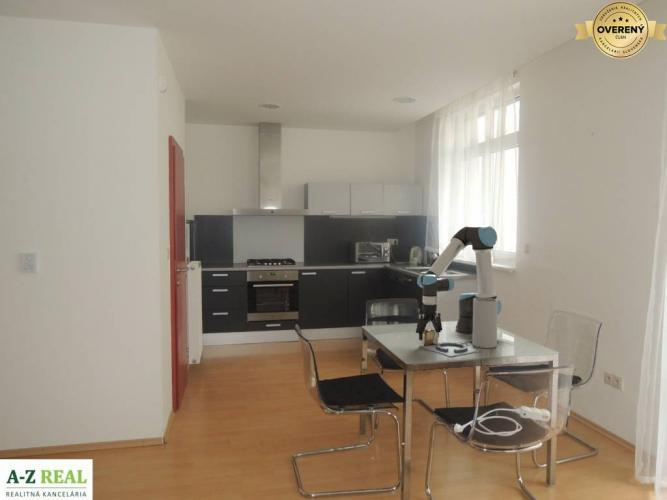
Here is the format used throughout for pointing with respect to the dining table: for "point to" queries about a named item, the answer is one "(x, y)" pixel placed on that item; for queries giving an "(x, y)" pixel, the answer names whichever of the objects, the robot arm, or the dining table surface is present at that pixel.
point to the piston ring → (461, 350)
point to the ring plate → (451, 350)
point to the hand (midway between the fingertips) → (429, 344)
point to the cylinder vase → (485, 322)
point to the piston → (429, 337)
